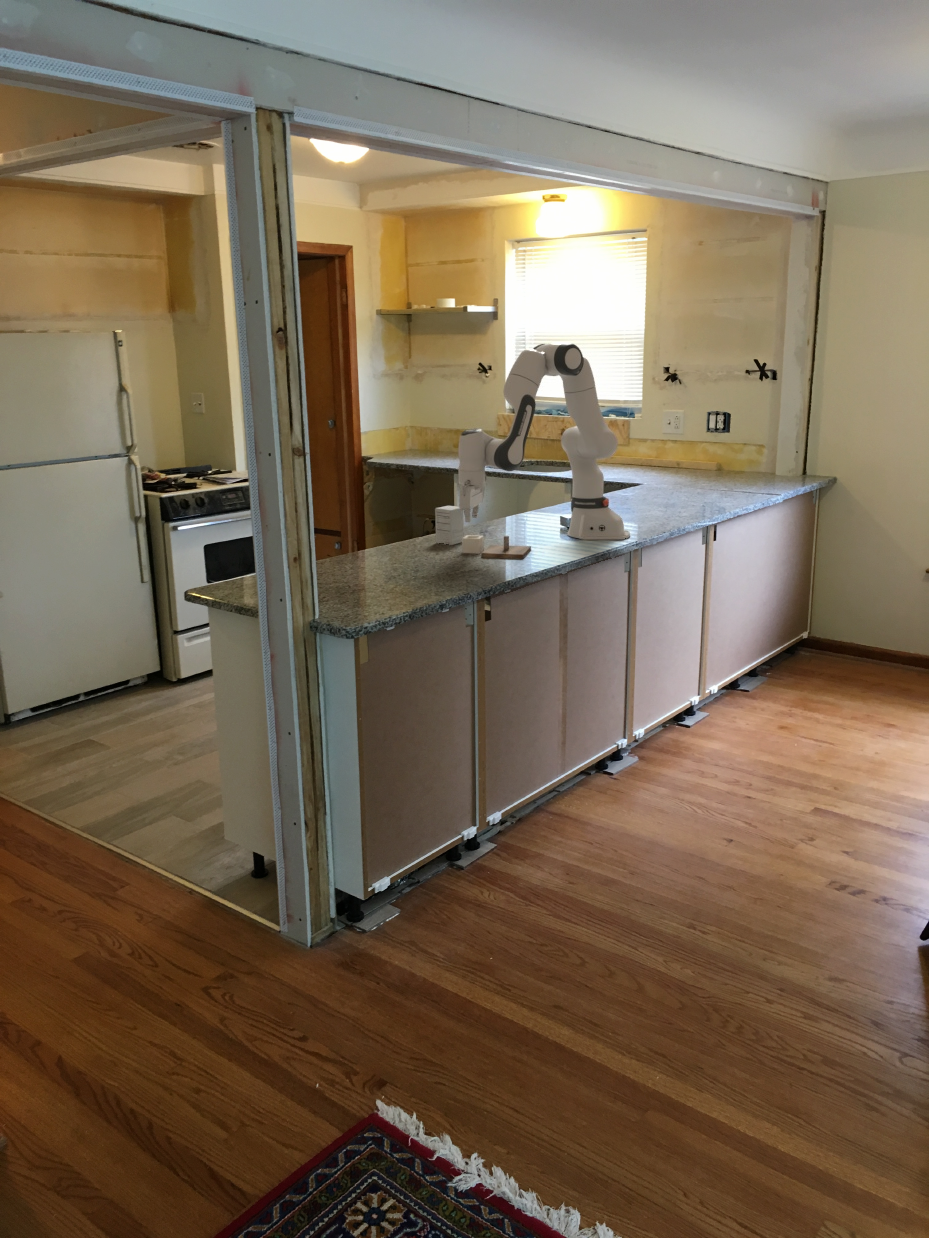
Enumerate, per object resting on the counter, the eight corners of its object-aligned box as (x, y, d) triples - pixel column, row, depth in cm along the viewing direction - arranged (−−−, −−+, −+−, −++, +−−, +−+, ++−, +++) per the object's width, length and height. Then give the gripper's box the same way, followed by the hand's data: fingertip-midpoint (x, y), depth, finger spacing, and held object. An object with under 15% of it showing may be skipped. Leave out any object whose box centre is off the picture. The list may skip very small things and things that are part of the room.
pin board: (530, 550, 338) (530, 533, 336) (522, 559, 325) (522, 541, 323) (490, 549, 341) (490, 531, 340) (481, 557, 328) (481, 539, 327)
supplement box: (448, 539, 359) (448, 505, 355) (464, 542, 354) (464, 507, 351) (435, 543, 353) (434, 507, 350) (451, 545, 349) (450, 509, 345)
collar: (483, 550, 340) (483, 535, 339) (479, 553, 334) (479, 539, 333) (466, 549, 341) (466, 535, 340) (462, 553, 336) (462, 538, 334)
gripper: (473, 482, 321) (473, 525, 324) (487, 475, 340) (487, 515, 343) (454, 482, 322) (454, 524, 326) (469, 474, 341) (469, 514, 345)
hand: (471, 519), depth 335 cm, fingers open, 8 cm apart
